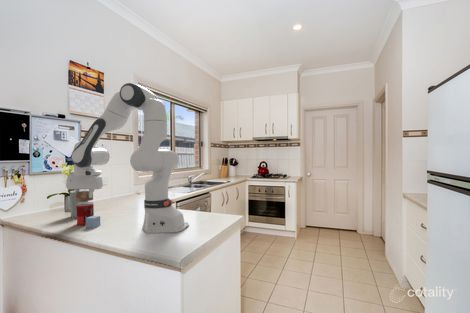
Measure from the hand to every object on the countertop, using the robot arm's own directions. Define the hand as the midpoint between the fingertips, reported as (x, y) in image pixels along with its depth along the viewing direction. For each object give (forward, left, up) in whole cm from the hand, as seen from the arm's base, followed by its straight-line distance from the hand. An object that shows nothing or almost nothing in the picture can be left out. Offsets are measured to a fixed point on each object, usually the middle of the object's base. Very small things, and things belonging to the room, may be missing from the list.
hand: (84, 197), depth 123 cm
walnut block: (0, 0, -2) cm, 2 cm away
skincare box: (+17, -13, -14) cm, 26 cm away
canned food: (0, 0, -14) cm, 14 cm away
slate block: (-9, +4, -14) cm, 17 cm away
